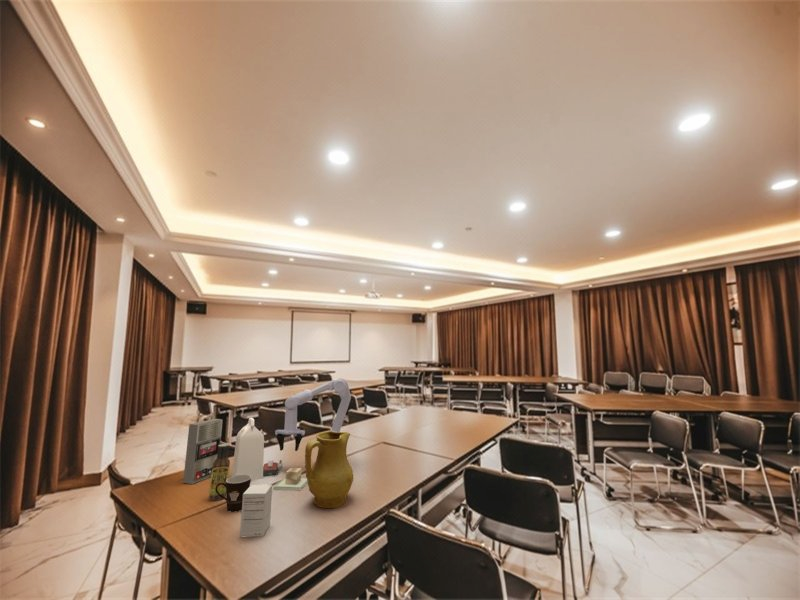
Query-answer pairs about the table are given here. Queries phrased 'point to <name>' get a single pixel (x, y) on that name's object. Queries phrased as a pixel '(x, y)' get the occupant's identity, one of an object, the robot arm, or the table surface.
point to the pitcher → (329, 469)
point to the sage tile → (283, 486)
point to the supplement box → (256, 510)
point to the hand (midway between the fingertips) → (289, 450)
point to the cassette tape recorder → (202, 449)
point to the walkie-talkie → (271, 468)
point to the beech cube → (293, 476)
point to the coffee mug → (235, 491)
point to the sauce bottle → (219, 473)
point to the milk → (249, 452)
